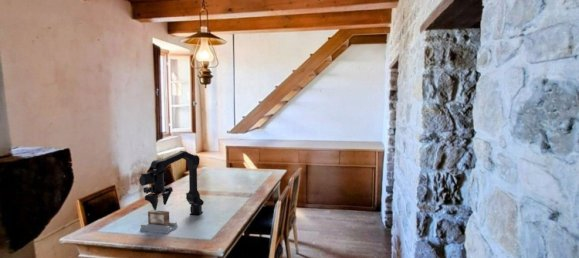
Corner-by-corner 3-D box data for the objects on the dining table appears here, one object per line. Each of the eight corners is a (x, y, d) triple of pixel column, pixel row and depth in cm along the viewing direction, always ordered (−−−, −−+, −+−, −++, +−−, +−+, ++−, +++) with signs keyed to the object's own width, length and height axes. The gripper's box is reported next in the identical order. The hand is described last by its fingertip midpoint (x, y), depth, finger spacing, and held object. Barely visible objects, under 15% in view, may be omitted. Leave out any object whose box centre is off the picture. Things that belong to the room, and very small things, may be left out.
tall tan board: (169, 226, 185) (169, 211, 185) (166, 228, 182) (165, 213, 182) (151, 224, 188) (151, 209, 187) (148, 226, 185) (147, 211, 185)
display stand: (177, 226, 188) (177, 221, 188) (167, 233, 178) (167, 228, 178) (151, 224, 192) (151, 218, 192) (140, 230, 183) (139, 225, 182)
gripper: (156, 177, 197) (158, 201, 199) (135, 185, 179) (137, 212, 180) (172, 178, 194) (173, 202, 196) (152, 186, 176) (154, 213, 178)
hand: (160, 207), depth 188 cm, fingers open, 9 cm apart
